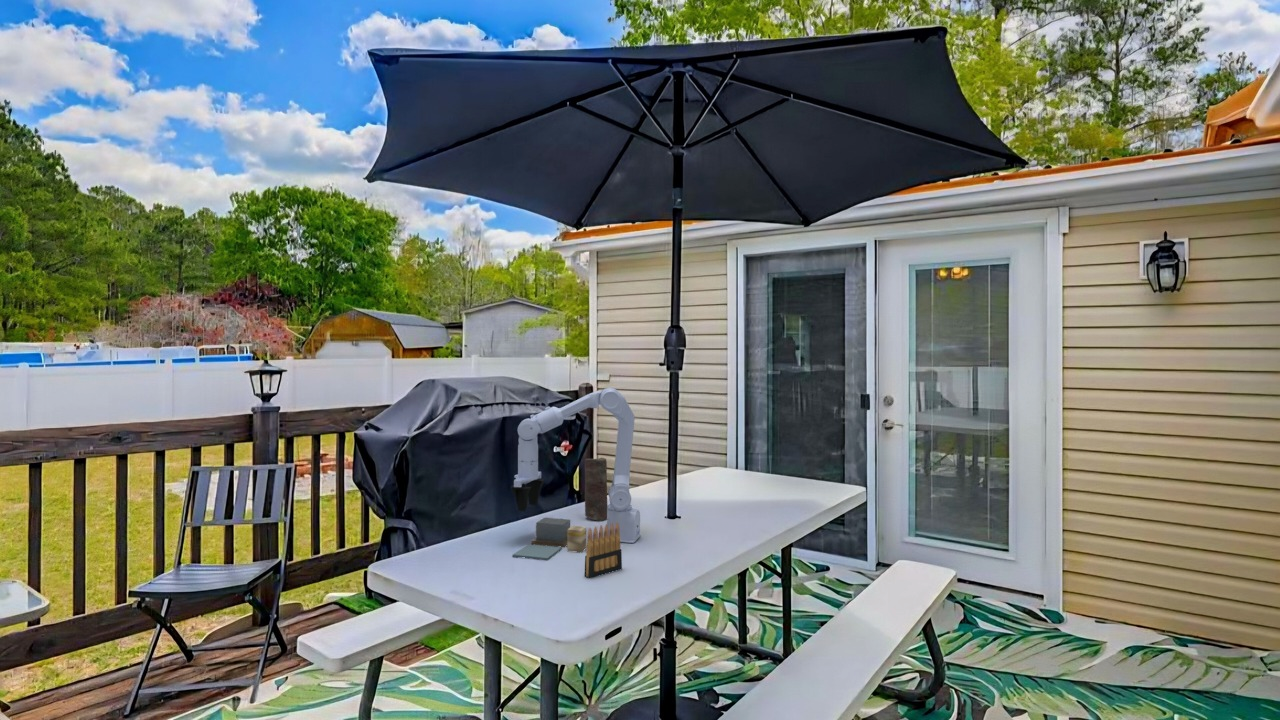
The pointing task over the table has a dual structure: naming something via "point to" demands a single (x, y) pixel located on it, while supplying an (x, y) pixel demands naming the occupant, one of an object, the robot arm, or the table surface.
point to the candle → (596, 489)
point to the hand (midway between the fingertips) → (527, 507)
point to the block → (576, 538)
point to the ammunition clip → (603, 551)
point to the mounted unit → (551, 532)
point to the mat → (537, 552)
